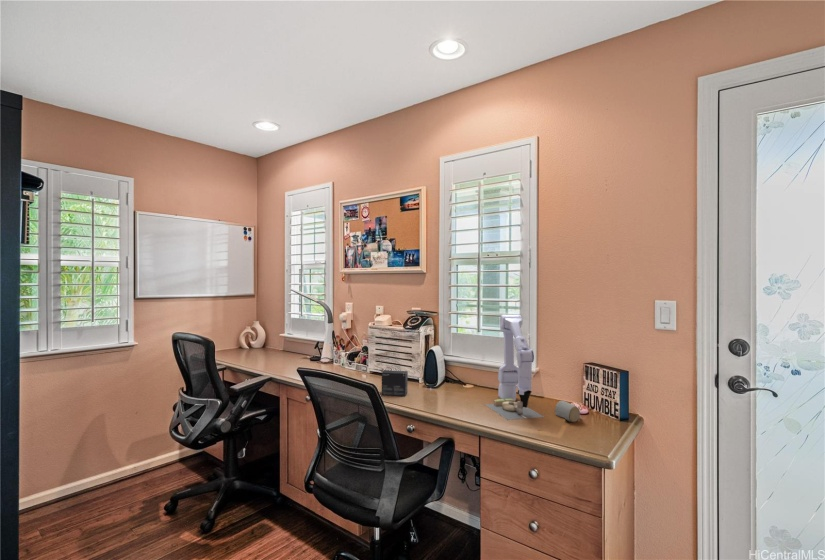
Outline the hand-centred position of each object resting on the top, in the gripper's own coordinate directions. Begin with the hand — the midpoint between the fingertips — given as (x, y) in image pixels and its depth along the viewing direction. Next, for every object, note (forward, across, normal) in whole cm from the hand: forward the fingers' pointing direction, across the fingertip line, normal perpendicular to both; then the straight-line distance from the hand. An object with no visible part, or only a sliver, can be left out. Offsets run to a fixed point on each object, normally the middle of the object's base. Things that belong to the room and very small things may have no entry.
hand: (524, 406), depth 179 cm
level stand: (+5, -3, -5) cm, 8 cm away
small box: (+5, -4, -68) cm, 69 cm away
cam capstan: (+3, -2, -5) cm, 6 cm away
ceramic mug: (+5, -7, +18) cm, 20 cm away
